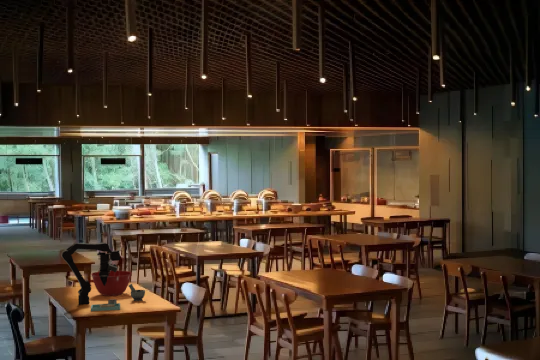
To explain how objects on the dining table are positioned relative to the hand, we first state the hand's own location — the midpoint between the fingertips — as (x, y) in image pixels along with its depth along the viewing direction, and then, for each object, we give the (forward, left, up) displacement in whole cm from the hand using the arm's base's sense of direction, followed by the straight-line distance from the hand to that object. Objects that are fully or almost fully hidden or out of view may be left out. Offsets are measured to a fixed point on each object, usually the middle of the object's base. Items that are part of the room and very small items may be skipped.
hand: (105, 284), depth 478 cm
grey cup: (+5, -15, -12) cm, 20 cm away
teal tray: (+1, -25, -12) cm, 28 cm away
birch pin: (-3, -25, -11) cm, 27 cm away
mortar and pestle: (+21, -1, -12) cm, 24 cm away
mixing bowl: (+4, +30, -12) cm, 33 cm away
